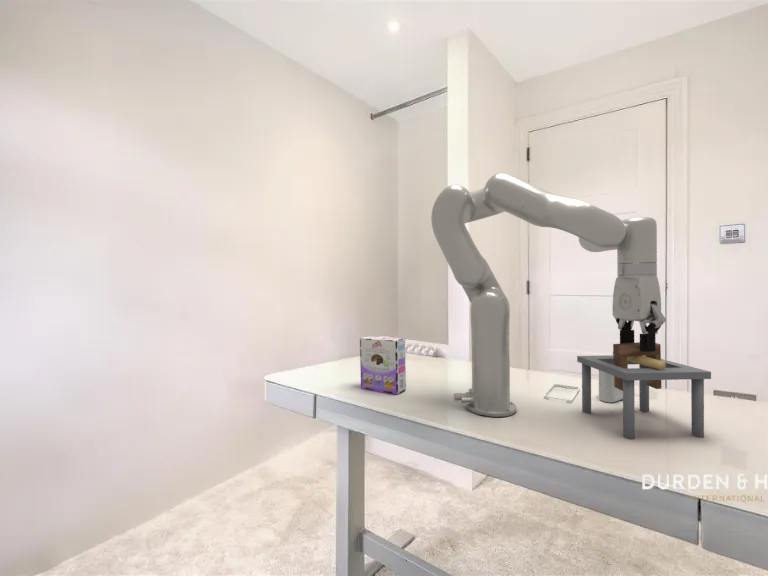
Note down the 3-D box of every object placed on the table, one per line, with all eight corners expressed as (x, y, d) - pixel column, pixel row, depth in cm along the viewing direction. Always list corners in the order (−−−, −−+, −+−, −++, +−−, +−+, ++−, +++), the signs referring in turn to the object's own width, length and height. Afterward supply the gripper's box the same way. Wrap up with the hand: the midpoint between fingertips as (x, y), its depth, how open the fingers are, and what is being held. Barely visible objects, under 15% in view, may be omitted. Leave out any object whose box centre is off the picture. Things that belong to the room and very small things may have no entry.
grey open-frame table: (711, 438, 74) (711, 362, 74) (626, 440, 74) (626, 363, 74) (645, 408, 92) (645, 347, 92) (577, 409, 92) (577, 348, 92)
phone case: (554, 387, 113) (542, 400, 101) (554, 383, 113) (542, 395, 101) (580, 391, 109) (571, 405, 97) (580, 387, 109) (571, 400, 97)
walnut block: (661, 388, 82) (660, 344, 81) (623, 391, 82) (621, 346, 81) (651, 384, 85) (650, 341, 84) (614, 386, 85) (613, 344, 84)
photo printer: (613, 393, 105) (613, 352, 105) (630, 397, 101) (630, 354, 101) (596, 400, 99) (596, 356, 99) (613, 404, 95) (612, 358, 95)
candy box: (406, 390, 110) (406, 337, 110) (397, 395, 105) (396, 340, 105) (370, 384, 118) (369, 334, 118) (359, 388, 113) (359, 337, 113)
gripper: (597, 273, 91) (598, 343, 91) (649, 270, 74) (649, 356, 74) (626, 272, 91) (626, 342, 91) (684, 269, 74) (684, 356, 74)
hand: (636, 348), depth 83 cm, fingers open, 5 cm apart
